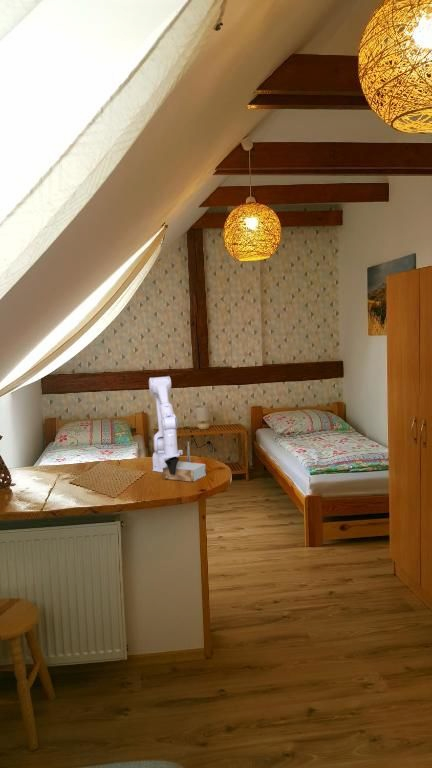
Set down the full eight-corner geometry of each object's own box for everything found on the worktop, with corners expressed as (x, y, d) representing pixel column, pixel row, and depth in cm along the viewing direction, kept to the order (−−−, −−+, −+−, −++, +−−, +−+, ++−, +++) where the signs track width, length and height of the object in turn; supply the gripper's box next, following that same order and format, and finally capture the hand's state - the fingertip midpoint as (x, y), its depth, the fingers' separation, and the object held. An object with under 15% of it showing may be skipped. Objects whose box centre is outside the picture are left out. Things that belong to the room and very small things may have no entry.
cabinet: (166, 477, 255) (165, 466, 254) (178, 471, 264) (178, 461, 263) (193, 481, 247) (193, 470, 247) (206, 474, 256) (205, 464, 255)
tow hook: (200, 464, 276) (183, 466, 272) (199, 437, 275) (182, 440, 270) (208, 467, 269) (191, 470, 265) (208, 441, 268) (190, 443, 263)
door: (194, 480, 247) (193, 470, 246) (191, 482, 245) (190, 471, 244) (164, 477, 254) (164, 467, 253) (161, 479, 252) (161, 468, 251)
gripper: (168, 448, 239) (170, 479, 241) (187, 440, 251) (189, 470, 253) (154, 447, 243) (157, 478, 245) (174, 439, 255) (176, 469, 257)
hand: (172, 474), depth 249 cm, fingers closed
